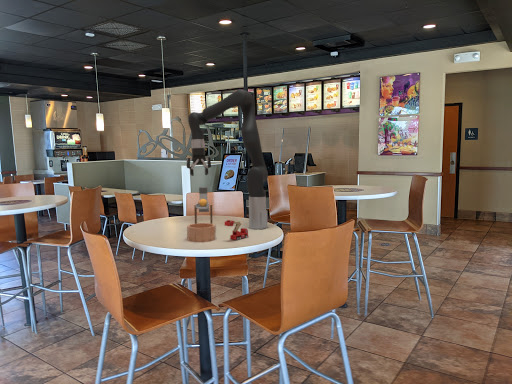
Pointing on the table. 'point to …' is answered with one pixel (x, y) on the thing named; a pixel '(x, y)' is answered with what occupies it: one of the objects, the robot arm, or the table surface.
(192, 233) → the terracotta shallow bowl
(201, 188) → the grey angular piece
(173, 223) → the table surface
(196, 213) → the catapult stand
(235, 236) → the toy fire truck
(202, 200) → the ball
